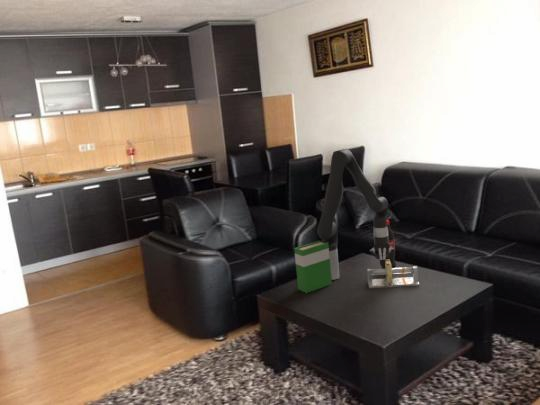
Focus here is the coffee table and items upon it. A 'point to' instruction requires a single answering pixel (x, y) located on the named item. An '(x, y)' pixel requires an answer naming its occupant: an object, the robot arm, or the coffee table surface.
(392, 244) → the cola bottle
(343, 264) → the coffee table surface
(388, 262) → the gold rectangular block
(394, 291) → the coffee table surface
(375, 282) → the rail stand
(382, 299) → the coffee table surface
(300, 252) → the hardback book
